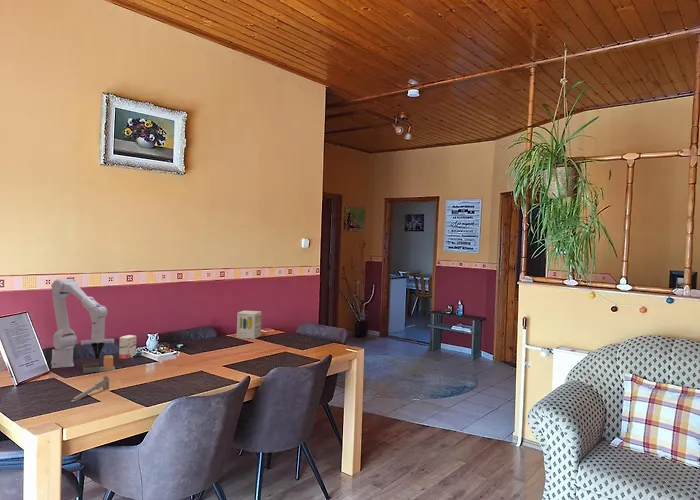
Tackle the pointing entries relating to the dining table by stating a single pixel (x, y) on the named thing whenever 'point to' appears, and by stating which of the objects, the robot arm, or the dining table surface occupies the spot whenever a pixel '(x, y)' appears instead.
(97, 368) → the case
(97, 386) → the caliper
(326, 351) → the dining table surface
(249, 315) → the supplement box
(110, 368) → the block
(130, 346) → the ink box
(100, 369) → the pad
